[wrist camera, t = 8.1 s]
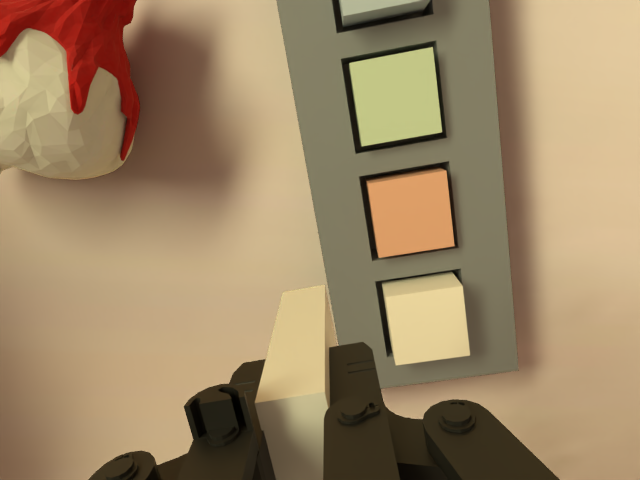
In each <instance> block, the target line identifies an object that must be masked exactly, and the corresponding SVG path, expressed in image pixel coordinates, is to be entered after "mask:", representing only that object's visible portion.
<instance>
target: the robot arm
mask: <svg viewBox="0 0 640 480" xmlns="http://www.w3.org/2000/svg"><path fill="white" fill-rule="evenodd" d="M184 409H185V412H186V416H187V419H188V422H189V426H190V429H191V433H192V436H193V439H194V440H193V442H192V445H191V447H190V450H189V452H188V453H187V454H185V455H182V456H180V457H178V458H175V459H173V460H170V461H167V462H165V463H162V464H160V465H156V462H155V458H154V457H153V456H152V455H151V454H150V453H149V452H144V451H135V452H129V453H126V454H124V455H120V456H118V457H116V458H114V459H113V460H111V461H109V462H108V463H106V464H104V465H103V466H102V467H101V468H100V469H99V470H98V471H96V472H95V473H94V474H93V475H92V476H91V477H90V479H89V480H560V479H559V478H558V477H556V476H555V475H554V474H553V473H552V472H551V471H550V470H549V469H548V468H547V467H546V466H545V465H544V464H543V463H542V462H541V461H540V460H539V459H538V458H537V457H536V456H535V455H534V454H533V453H532V452H531V451H530V450H529V449H528V448H526V447H525V446H524V445H523V444H522V443H521V442H520V441H519V440H518V439H517V438H516V437H515V436H514V435H513V434H512V433H511V432H510V431H509V430H508V429H507V428H506V427H505V426H504V425H503V424H502V423H501V422H500V421H499V420H498V419H496V418H495V417H494V416H493V415H492V414H491V413H490V412H489V411H488V410H487V409H485V408H484V407H482V406H481V405H479V404H477V403H474V402H471V401H467V400H454V399H453V400H448V401H442V402H439V403H437V404H435V405H433V406H431V407H430V408H429V409H428V410H427V411H426V412H425V414H424V418H423V420H422V419H411V418H404V417H402V416H399V415H396V414H394V413H393V412H391V411H389V409H388V408H387V407H386V406H385V404H384V402H383V398H382V394H381V389H380V384H379V379H378V374H377V370H376V365H375V360H374V355H373V351H372V349H371V348H370V347H369V346H368V345H367V344H365V343H364V342H358V343H352V344H346V345H340V346H337V343H336V338H335V333H334V328H333V323H332V318H331V313H330V308H329V303H328V298H327V293H326V287H325V285H320V286H315V287H309V288H303V289H298V290H292V291H286V292H283V294H282V298H281V302H280V306H279V310H278V314H277V317H276V321H275V325H274V329H273V333H272V337H271V341H270V345H269V349H268V353H267V357H266V359H264V360H258V361H252V362H246V363H243V364H242V365H241V366H240V367H239V368H238V369H237V370H236V371H235V372H234V373H233V375H232V378H231V380H230V383H229V384H220V385H216V386H213V387H209V388H207V389H205V390H203V391H201V392H199V393H197V394H196V395H194V396H193V397H192V398H190V399H189V400H188V402H187V403H186V404H185V406H184Z"/></svg>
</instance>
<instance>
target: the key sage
mask: <svg viewBox="0 0 640 480" xmlns="http://www.w3.org/2000/svg"><path fill="white" fill-rule="evenodd" d="M349 75H350V82H351V88H352V95H353V101H354V108H355V115H356V121H357V128H358V134H359V141H360V145H361V146H367V145H373V144H379V143H384V142H390V141H396V140H401V139H407V138H413V137H418V136H424V135H430V134H435V133H441V132H442V126H441V117H440V108H439V99H438V89H437V80H436V71H435V62H434V53H433V47H430V48H425V49H420V50H415V51H409V52H404V53H399V54H394V55H388V56H383V57H378V58H373V59H368V60H362V61H357V62H352V63H349Z"/></svg>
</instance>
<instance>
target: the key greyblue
mask: <svg viewBox="0 0 640 480" xmlns="http://www.w3.org/2000/svg"><path fill="white" fill-rule="evenodd" d="M429 2H430V0H339V5H340V11H341V18H342V25H343V27H347V26H352V25H357V24H362V23H367V22H372V21H377V20H382V19H387V18H392V17H397V16H402V15H407V14H412V13H417V12H422V11H423V10H424V9H425V7H426V6H427V4H428V3H429Z"/></svg>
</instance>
